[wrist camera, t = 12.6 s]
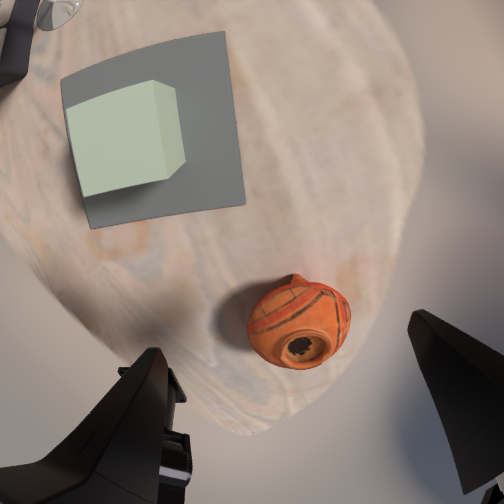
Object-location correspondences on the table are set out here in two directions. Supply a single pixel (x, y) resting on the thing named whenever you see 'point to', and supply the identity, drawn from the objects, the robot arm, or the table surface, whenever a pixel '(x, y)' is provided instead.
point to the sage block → (126, 137)
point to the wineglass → (56, 13)
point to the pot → (299, 324)
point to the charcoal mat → (191, 123)
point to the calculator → (15, 38)
